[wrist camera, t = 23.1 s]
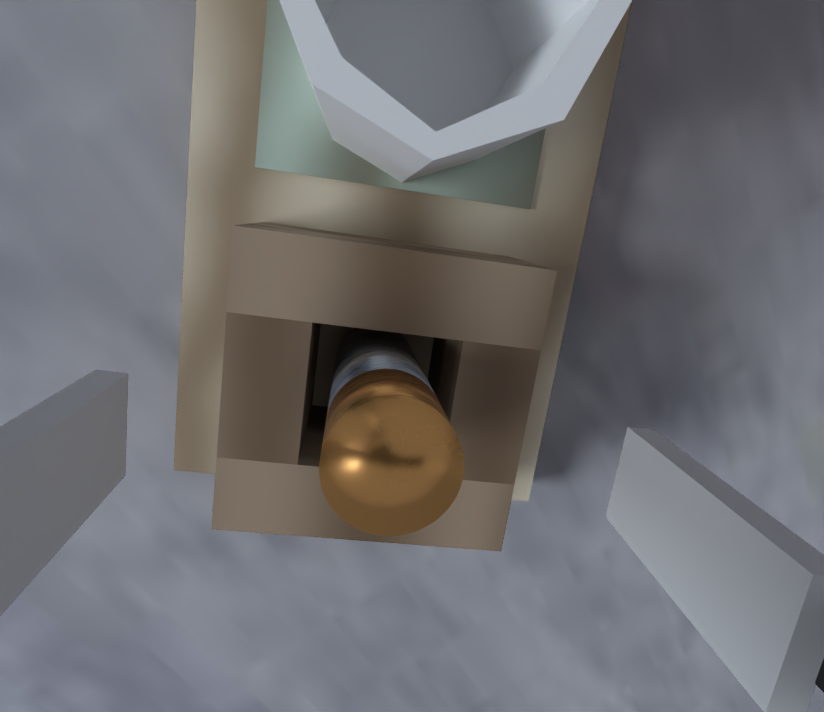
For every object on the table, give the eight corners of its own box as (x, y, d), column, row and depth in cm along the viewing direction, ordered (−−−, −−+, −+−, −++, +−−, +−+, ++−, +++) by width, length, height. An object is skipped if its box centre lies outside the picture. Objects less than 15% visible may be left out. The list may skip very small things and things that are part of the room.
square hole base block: (187, 451, 27) (116, 548, 19) (223, -212, 21) (142, -465, 13) (516, 481, 29) (575, 581, 21) (636, -117, 23) (780, -287, 15)
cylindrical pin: (332, 391, 24) (311, 530, 13) (340, 317, 24) (327, 391, 12) (406, 399, 25) (452, 541, 13) (416, 326, 24) (474, 406, 12)
